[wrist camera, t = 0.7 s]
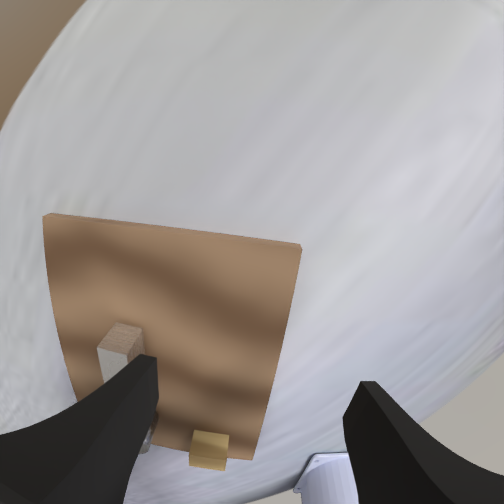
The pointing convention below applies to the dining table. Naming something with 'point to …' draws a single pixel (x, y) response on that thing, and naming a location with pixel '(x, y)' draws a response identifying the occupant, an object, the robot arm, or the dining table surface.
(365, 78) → the dining table surface
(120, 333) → the latch bar
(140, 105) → the dining table surface
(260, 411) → the plate
